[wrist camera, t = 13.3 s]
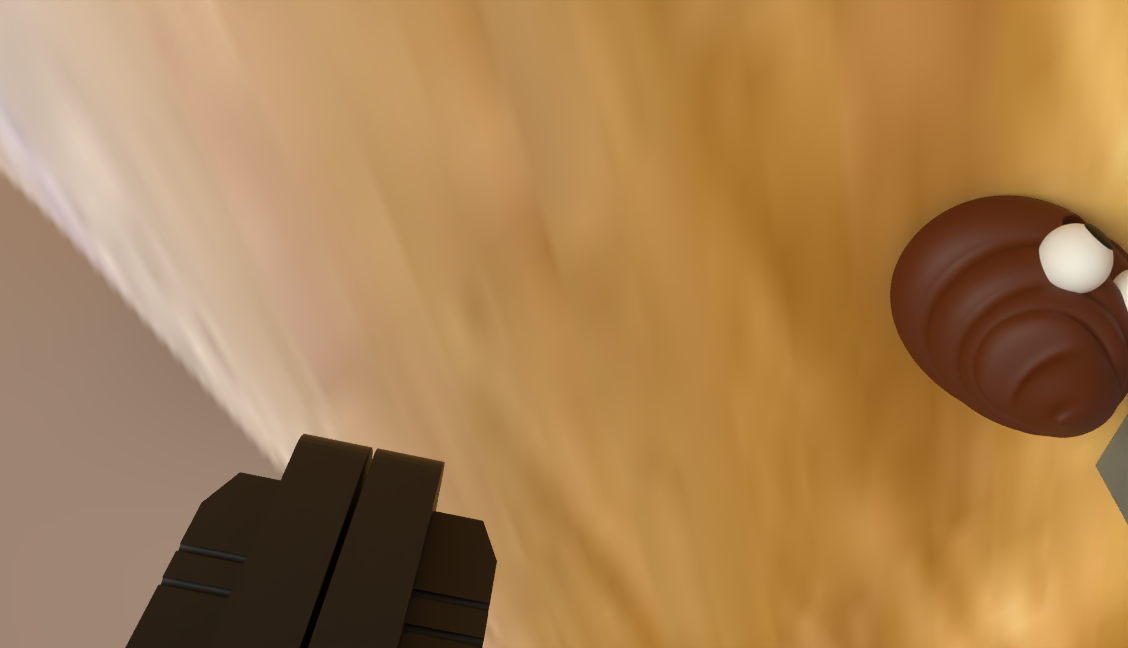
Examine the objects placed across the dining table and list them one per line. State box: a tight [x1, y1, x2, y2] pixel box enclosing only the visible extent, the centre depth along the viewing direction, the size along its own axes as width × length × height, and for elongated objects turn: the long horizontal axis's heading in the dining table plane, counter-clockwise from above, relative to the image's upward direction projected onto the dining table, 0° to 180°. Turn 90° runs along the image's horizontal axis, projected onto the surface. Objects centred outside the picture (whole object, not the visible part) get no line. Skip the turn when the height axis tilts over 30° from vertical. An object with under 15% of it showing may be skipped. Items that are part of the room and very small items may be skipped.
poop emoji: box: [890, 196, 1128, 438], centre depth 38 cm, size 10×9×9 cm
